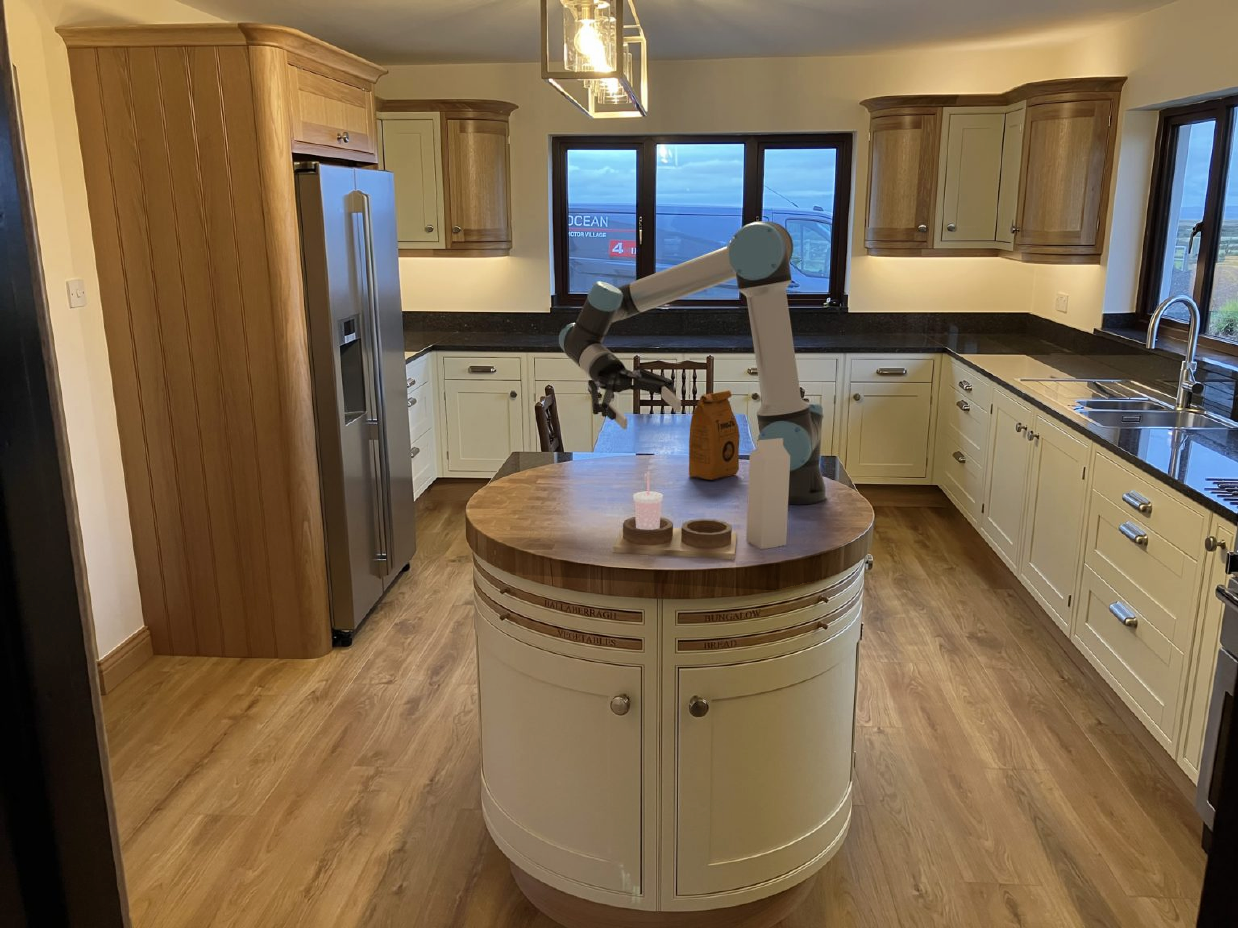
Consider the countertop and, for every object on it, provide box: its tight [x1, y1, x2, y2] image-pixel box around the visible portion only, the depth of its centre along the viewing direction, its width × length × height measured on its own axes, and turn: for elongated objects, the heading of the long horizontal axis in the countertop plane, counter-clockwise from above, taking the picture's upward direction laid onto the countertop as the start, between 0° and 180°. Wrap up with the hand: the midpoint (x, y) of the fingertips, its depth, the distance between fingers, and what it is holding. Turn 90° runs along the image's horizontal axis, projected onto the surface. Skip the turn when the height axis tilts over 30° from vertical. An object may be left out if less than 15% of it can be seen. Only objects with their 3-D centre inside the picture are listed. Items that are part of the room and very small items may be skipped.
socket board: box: [613, 516, 738, 560], centre depth 200 cm, size 24×14×4 cm, turn 81°
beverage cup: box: [632, 470, 664, 530], centre depth 199 cm, size 6×6×14 cm
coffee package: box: [688, 389, 741, 481], centre depth 250 cm, size 10×12×22 cm
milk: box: [745, 438, 790, 550], centre depth 199 cm, size 6×6×22 cm
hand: (653, 415), depth 209 cm, fingers open, 13 cm apart
